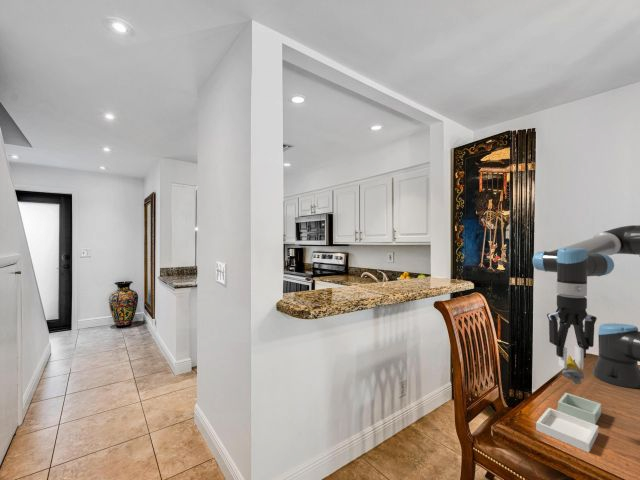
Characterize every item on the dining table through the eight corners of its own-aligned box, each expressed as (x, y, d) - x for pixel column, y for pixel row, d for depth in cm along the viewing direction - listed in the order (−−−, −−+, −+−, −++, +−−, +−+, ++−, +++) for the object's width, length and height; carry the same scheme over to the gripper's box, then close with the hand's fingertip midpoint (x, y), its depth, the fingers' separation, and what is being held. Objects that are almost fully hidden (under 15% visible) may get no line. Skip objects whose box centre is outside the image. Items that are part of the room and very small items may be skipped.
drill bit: (559, 382, 96) (554, 353, 102) (575, 389, 96) (569, 360, 102) (574, 378, 92) (568, 349, 98) (591, 386, 92) (583, 356, 98)
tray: (548, 414, 102) (548, 407, 102) (598, 433, 92) (598, 425, 92) (536, 430, 94) (536, 422, 94) (589, 452, 84) (589, 443, 84)
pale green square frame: (565, 401, 109) (565, 392, 109) (601, 414, 102) (601, 403, 102) (557, 411, 103) (557, 401, 103) (595, 425, 96) (594, 414, 96)
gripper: (549, 297, 94) (549, 370, 94) (610, 298, 92) (610, 373, 92) (535, 292, 101) (535, 360, 102) (591, 294, 99) (591, 363, 99)
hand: (570, 366), depth 97 cm, fingers closed on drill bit, 4 cm apart
